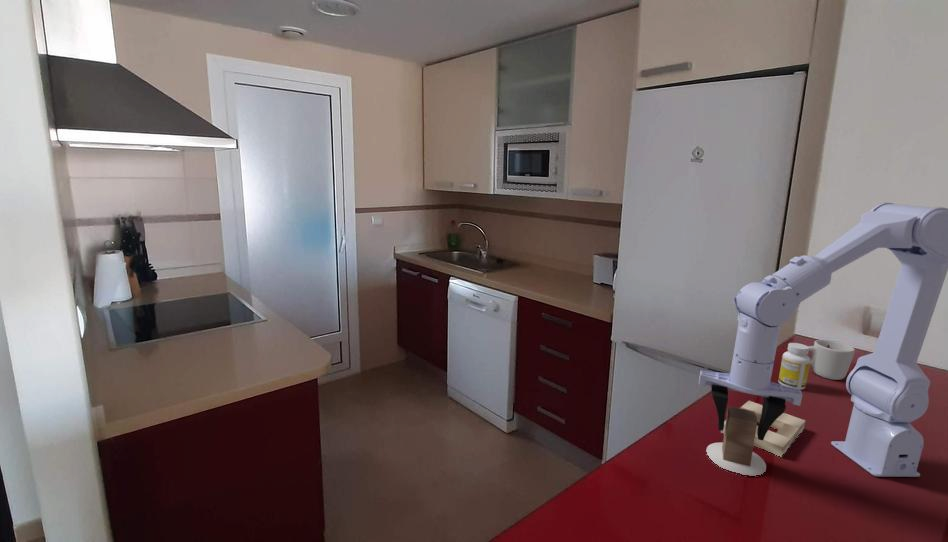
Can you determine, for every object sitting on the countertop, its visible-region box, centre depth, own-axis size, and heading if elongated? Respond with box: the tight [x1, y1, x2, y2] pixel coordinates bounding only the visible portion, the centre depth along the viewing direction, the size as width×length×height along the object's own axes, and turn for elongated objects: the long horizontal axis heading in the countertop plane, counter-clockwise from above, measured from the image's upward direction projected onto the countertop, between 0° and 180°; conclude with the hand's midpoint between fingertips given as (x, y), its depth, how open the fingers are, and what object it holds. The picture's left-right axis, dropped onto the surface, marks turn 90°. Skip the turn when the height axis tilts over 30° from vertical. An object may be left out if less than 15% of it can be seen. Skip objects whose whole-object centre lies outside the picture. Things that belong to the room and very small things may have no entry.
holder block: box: [720, 400, 806, 458], centre depth 89 cm, size 10×14×2 cm
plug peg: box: [722, 405, 758, 466], centre depth 80 cm, size 4×4×8 cm
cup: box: [807, 339, 856, 381], centre depth 116 cm, size 11×8×8 cm
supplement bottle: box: [777, 342, 811, 390], centre depth 109 cm, size 5×5×10 cm
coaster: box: [705, 441, 767, 477], centre depth 80 cm, size 9×9×1 cm
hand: (740, 432), depth 79 cm, fingers open, 5 cm apart
